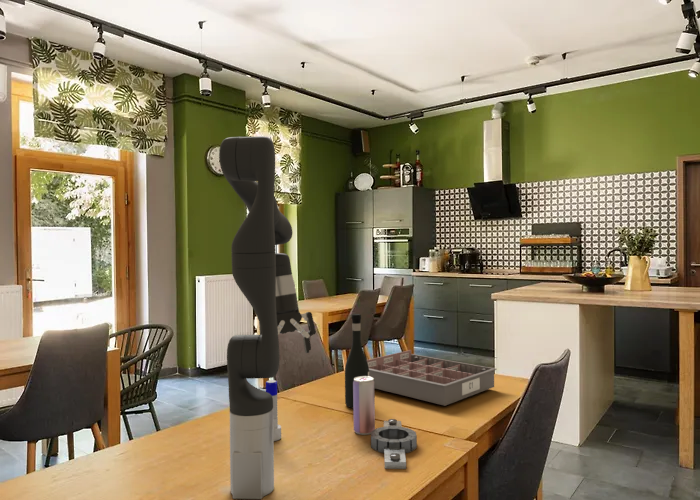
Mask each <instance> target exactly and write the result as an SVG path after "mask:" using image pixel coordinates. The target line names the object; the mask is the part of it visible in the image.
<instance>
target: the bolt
mask: <svg viewBox="0 0 700 500" xmlns="http://www.w3.org/2000/svg"><path fill="white" fill-rule="evenodd" d="M265 391H266V392H268V393H269V394H271V395H272V398H273V442H277V441H279V440H281V438H282V425H280V424H278V423H279V422H278V421H279V420H278V419H279V418H278V415H279V413H278V381H277V380H275V379H271V380H267V381H266V382H265Z"/></svg>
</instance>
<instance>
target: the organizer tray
mask: <svg viewBox="0 0 700 500" xmlns="http://www.w3.org/2000/svg"><path fill="white" fill-rule="evenodd" d="M366 360H367V363H368V367H369V377H373V378H374V389H376V390H380V391H384V392H389V393H392V394H397V395H400V396H405V397H409V398H413V399H415V400H416V399H417V400H421V401H425V402H429V403H432V404H437V405H441V406H447V405H451V404H453V403H455V402H458V401H461V400H464V399H466V398H469V397H472V396H474V395H477V394H479V393H481V392H484V391H488V390H490V389H493V388H495V371H496V370H497V368H495V367H491V366H489V367H488V366H483V365H479V364H478V365H477V364H471V363H466V362H460V361H455V360H454V361H453V360H448V359H443V358H437V357H431V356H426V355H421V354H420V355H419V354H414V353H412V349H408V350H405V351H401V352H395V353H391V354H386V355H383V356H379V357H375V358H370V359H366Z"/></svg>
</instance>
